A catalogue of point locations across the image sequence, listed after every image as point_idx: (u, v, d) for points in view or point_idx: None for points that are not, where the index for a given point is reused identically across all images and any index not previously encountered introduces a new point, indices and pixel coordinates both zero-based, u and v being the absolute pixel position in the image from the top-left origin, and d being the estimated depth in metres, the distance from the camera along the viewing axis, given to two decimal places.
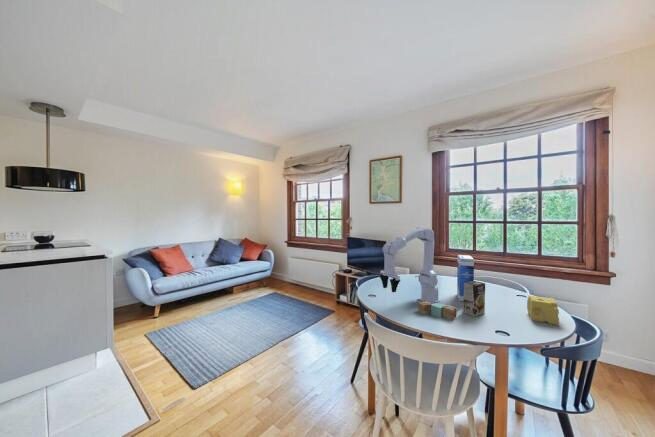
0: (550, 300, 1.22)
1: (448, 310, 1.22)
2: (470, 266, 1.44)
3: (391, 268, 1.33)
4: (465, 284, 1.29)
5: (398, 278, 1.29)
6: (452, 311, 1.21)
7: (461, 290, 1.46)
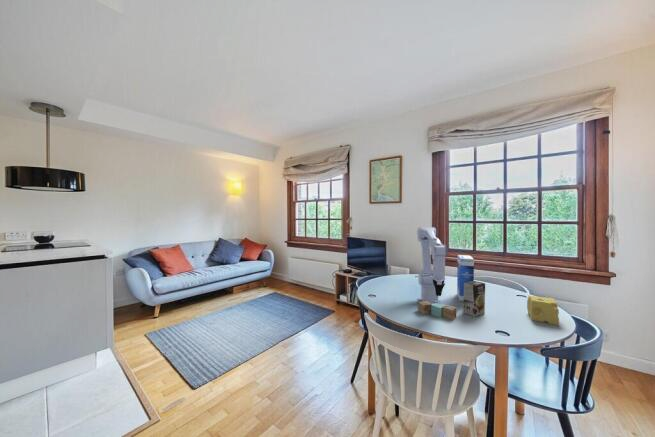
0: (550, 300, 1.22)
1: (448, 310, 1.22)
2: (470, 266, 1.44)
3: (436, 271, 1.25)
4: (465, 284, 1.29)
5: (439, 282, 1.20)
6: (452, 311, 1.21)
7: (461, 290, 1.46)
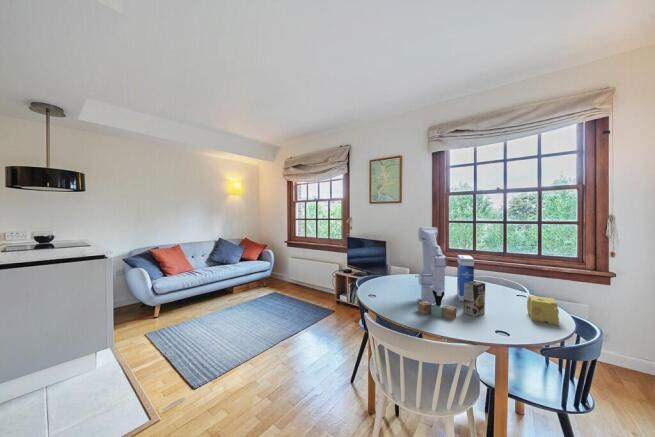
0: (550, 300, 1.22)
1: (448, 310, 1.23)
2: (470, 266, 1.44)
3: (436, 282, 1.25)
4: (465, 284, 1.29)
5: (439, 294, 1.20)
6: (452, 311, 1.21)
7: (461, 290, 1.46)
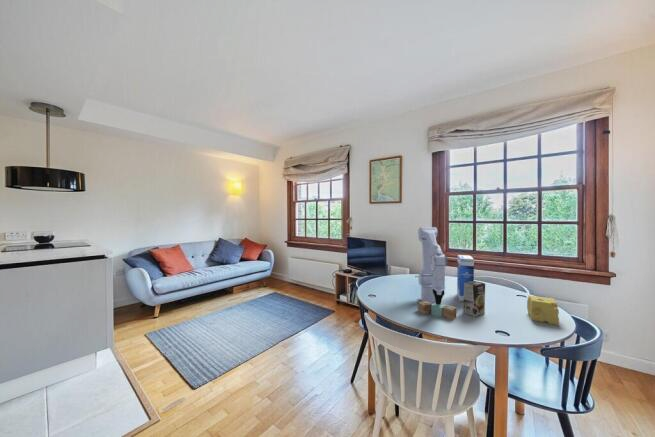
0: (550, 300, 1.22)
1: (448, 310, 1.23)
2: (470, 266, 1.44)
3: (436, 281, 1.25)
4: (465, 284, 1.29)
5: (439, 293, 1.20)
6: (451, 311, 1.21)
7: (461, 290, 1.46)
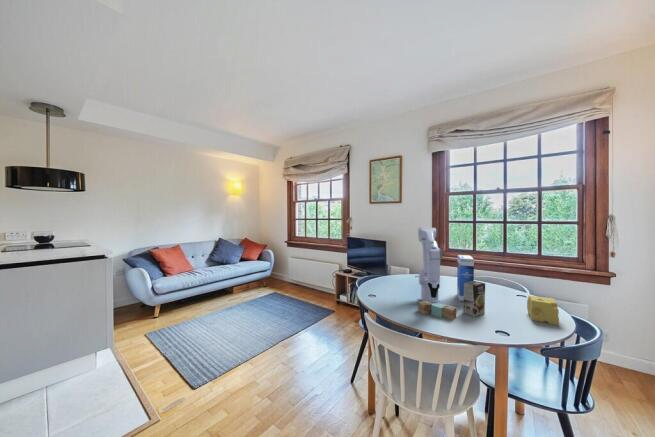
0: (550, 300, 1.22)
1: (448, 310, 1.23)
2: (470, 266, 1.44)
3: (432, 274, 1.27)
4: (465, 284, 1.29)
5: (434, 286, 1.22)
6: (451, 311, 1.21)
7: (461, 290, 1.46)
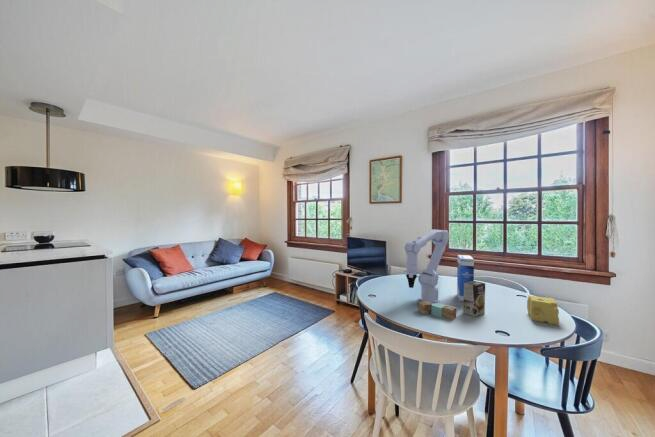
0: (550, 300, 1.22)
1: (448, 310, 1.23)
2: (470, 266, 1.44)
3: (409, 266, 1.37)
4: (465, 284, 1.29)
5: (411, 276, 1.32)
6: (451, 311, 1.21)
7: (461, 290, 1.46)
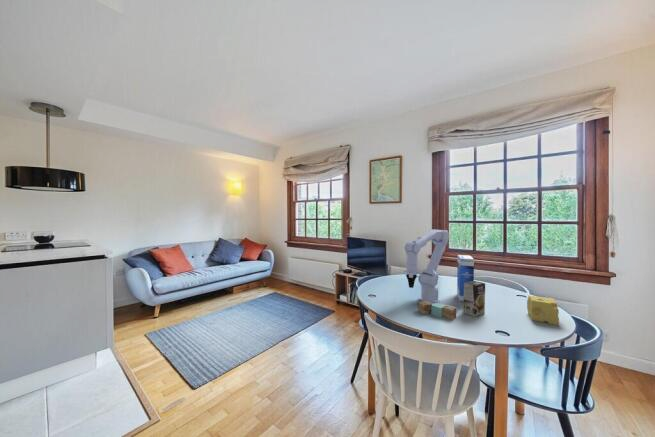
0: (550, 300, 1.22)
1: (448, 310, 1.23)
2: (470, 266, 1.44)
3: (409, 266, 1.37)
4: (465, 284, 1.29)
5: (411, 276, 1.32)
6: (451, 311, 1.21)
7: (461, 290, 1.46)
